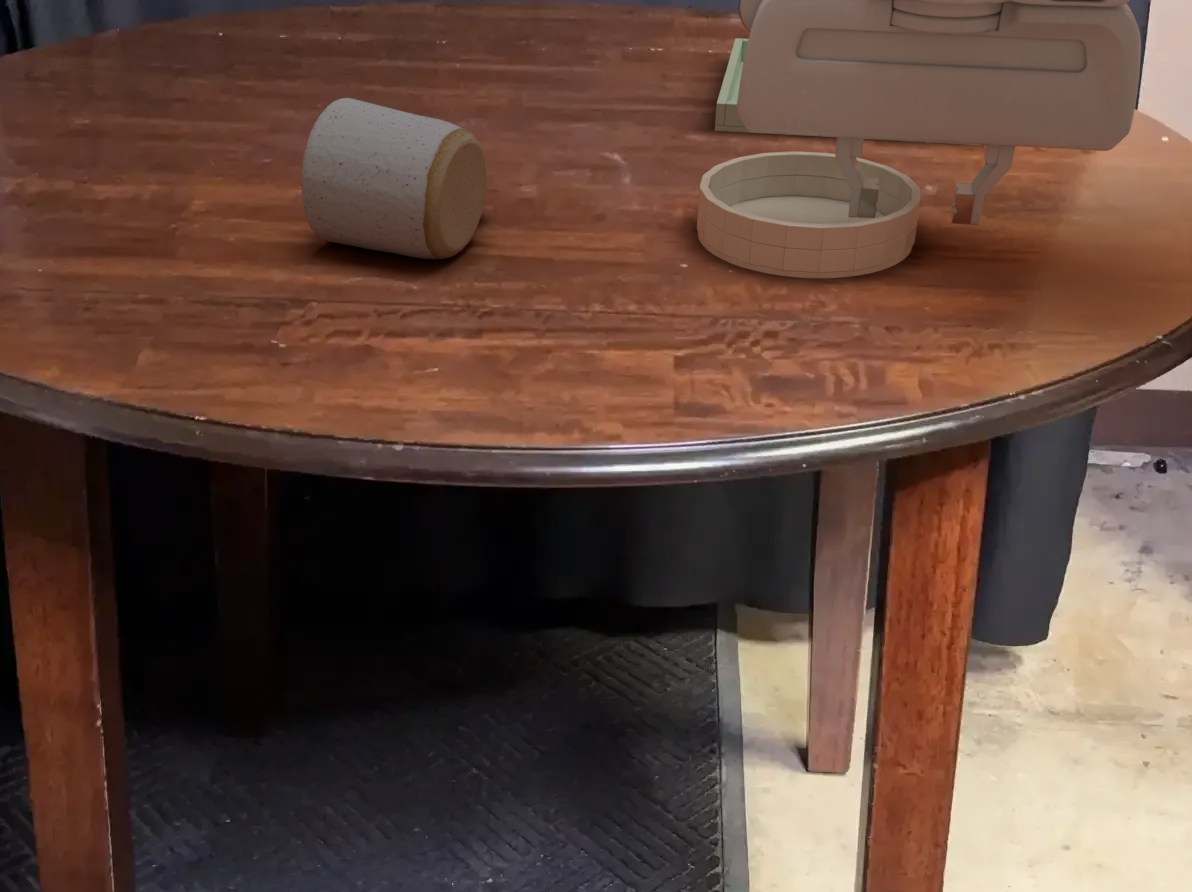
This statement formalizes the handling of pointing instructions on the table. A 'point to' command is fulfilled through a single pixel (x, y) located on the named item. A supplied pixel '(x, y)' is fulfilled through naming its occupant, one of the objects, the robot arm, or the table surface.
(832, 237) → the bowl
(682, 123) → the table surface
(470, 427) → the table surface
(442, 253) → the ceramic mug
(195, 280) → the table surface
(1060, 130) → the robot arm
